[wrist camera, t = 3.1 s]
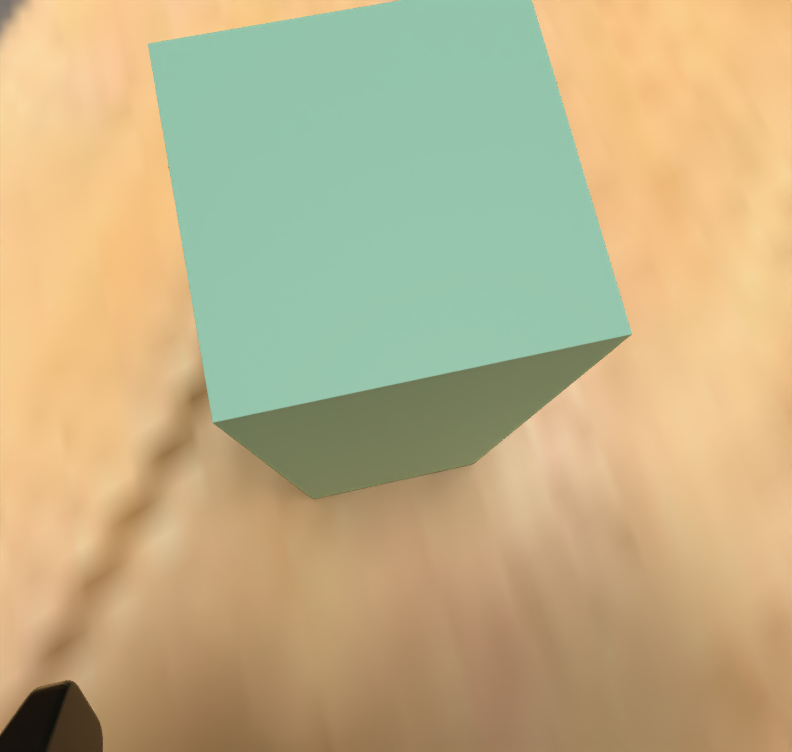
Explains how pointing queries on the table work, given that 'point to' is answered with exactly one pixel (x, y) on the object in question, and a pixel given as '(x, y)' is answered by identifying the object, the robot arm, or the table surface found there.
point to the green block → (382, 235)
